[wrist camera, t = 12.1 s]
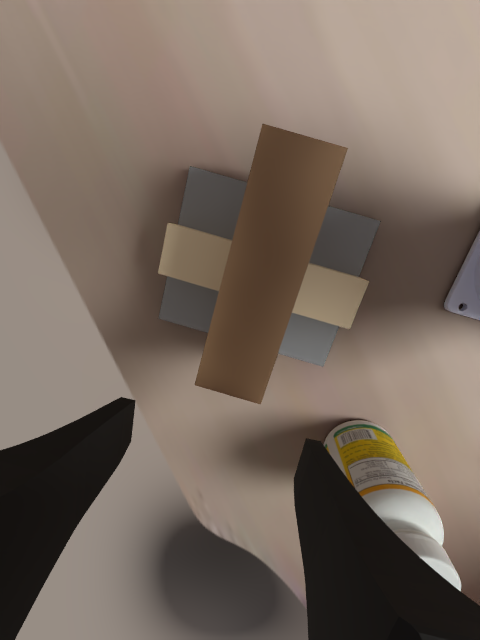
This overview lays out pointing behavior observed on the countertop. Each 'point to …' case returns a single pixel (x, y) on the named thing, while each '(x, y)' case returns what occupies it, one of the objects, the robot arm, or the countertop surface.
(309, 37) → the countertop surface
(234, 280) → the walnut bar
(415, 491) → the supplement bottle
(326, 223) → the board
